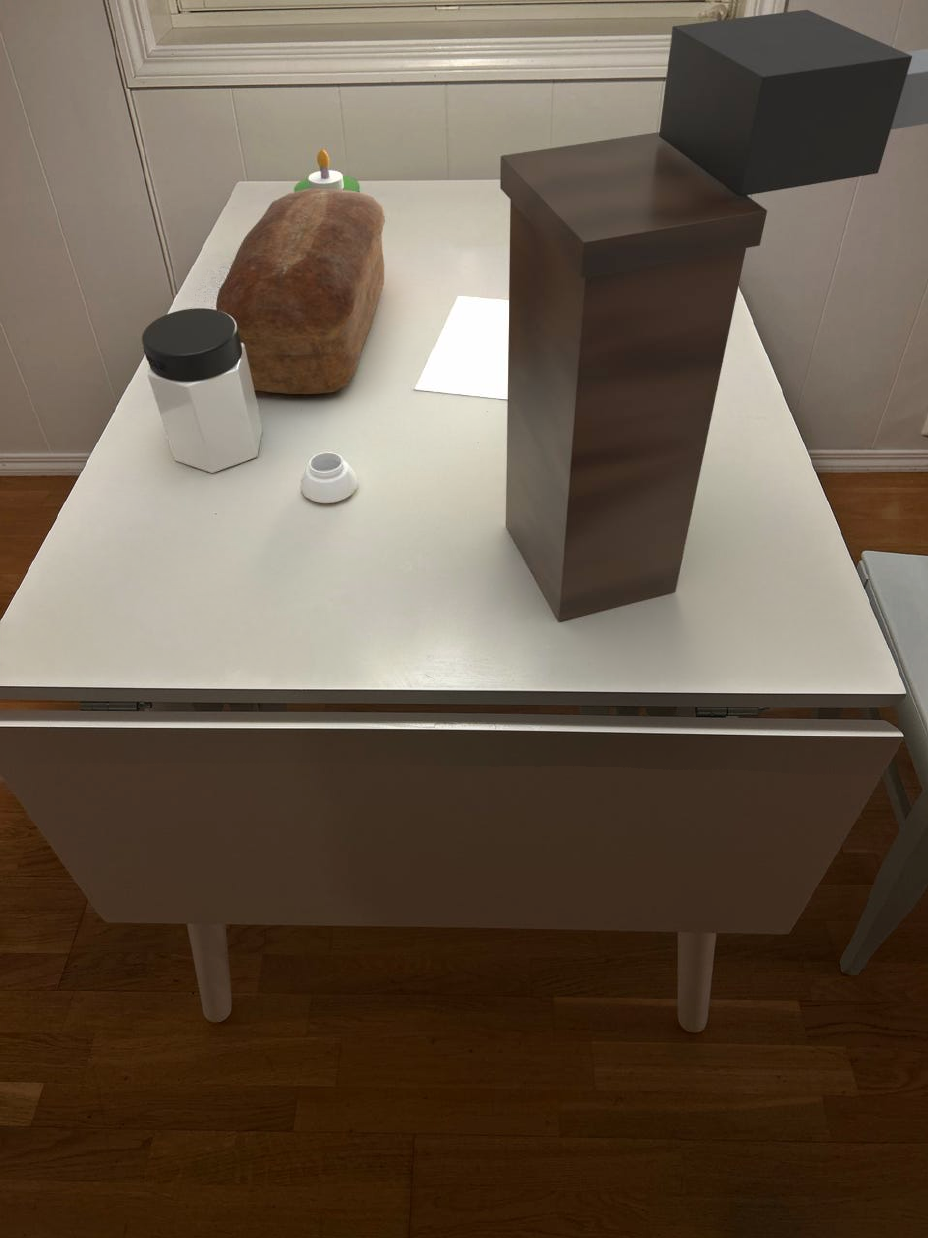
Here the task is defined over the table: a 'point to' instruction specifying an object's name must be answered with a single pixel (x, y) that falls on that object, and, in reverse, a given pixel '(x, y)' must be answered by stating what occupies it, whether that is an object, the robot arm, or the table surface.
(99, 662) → the table surface
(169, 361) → the jar
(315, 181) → the candle
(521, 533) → the stand
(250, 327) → the bread
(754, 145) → the sledgehammer head
